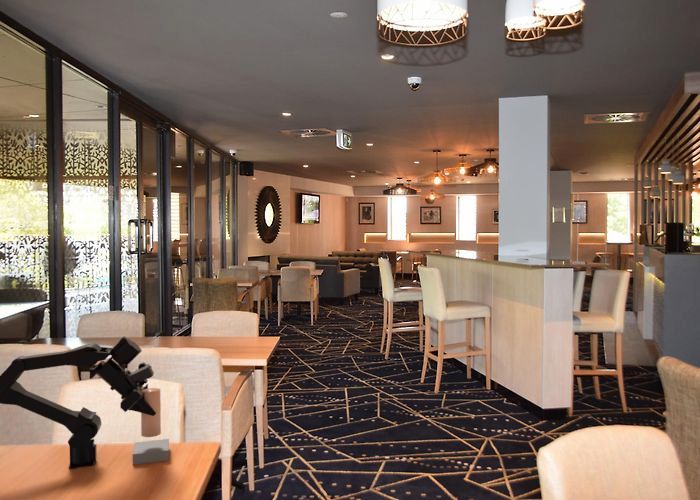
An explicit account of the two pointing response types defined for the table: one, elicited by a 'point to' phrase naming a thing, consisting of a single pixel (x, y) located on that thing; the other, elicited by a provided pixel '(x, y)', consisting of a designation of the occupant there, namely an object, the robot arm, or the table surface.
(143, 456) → the charcoal plinth
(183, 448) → the table surface
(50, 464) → the table surface
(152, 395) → the terracotta column
